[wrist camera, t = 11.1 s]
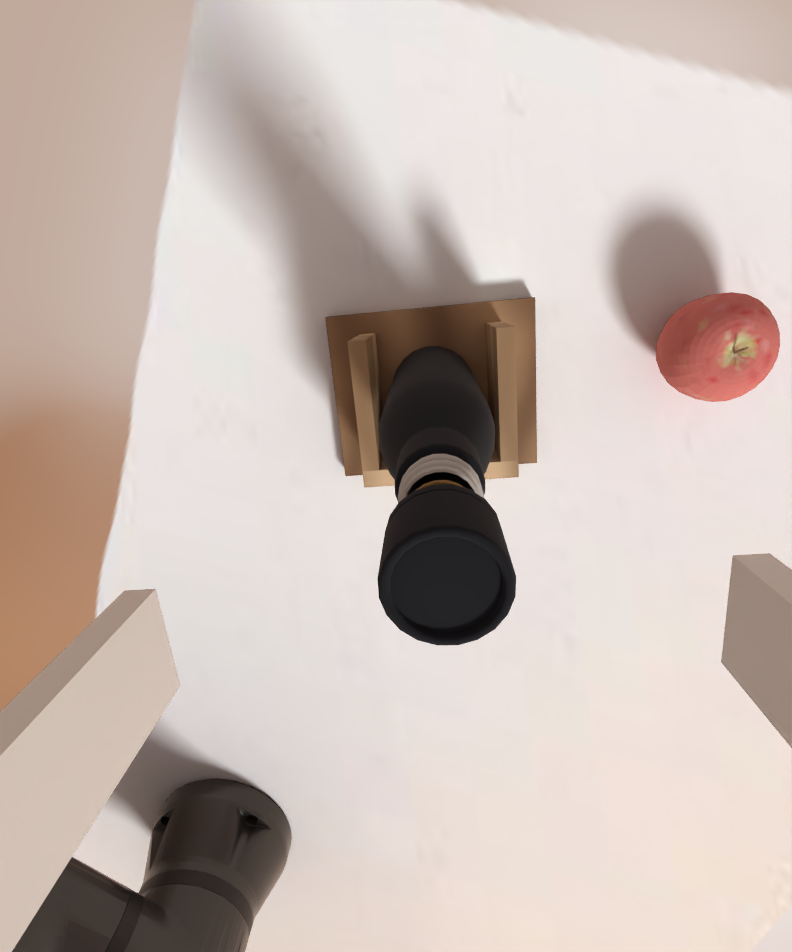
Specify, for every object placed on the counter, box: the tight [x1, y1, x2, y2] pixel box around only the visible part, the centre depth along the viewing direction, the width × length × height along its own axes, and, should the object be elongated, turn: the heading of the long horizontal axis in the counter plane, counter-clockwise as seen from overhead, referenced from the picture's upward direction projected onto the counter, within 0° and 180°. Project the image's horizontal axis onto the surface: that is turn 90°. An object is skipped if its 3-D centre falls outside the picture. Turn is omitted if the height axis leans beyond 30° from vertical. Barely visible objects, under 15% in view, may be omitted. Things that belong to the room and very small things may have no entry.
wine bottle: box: [378, 346, 516, 645], centre depth 29 cm, size 6×6×30 cm
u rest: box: [325, 297, 537, 487], centre depth 41 cm, size 16×13×8 cm
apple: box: [656, 293, 780, 402], centre depth 38 cm, size 7×7×8 cm
